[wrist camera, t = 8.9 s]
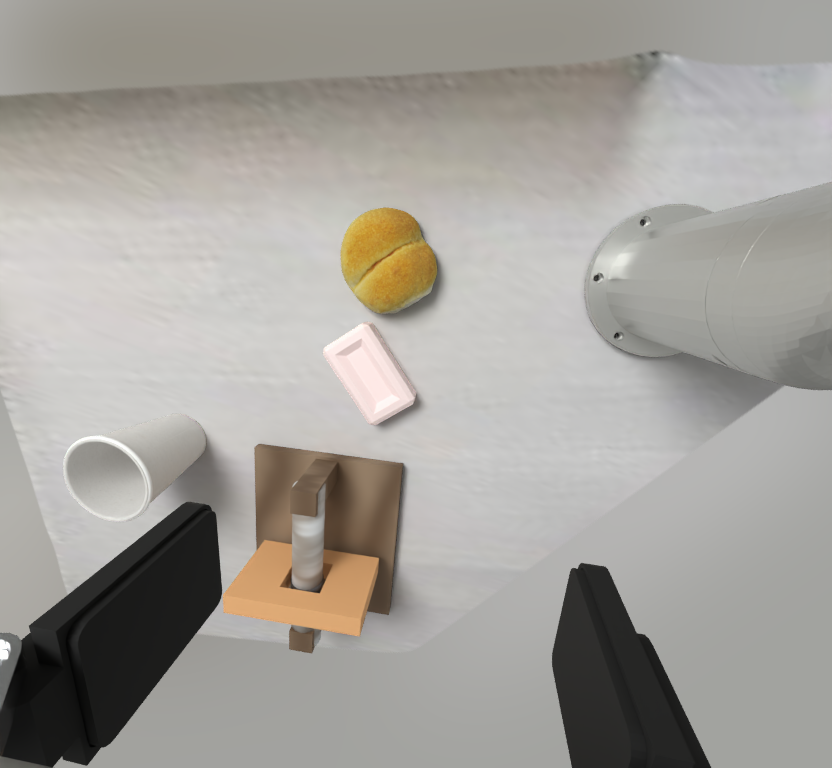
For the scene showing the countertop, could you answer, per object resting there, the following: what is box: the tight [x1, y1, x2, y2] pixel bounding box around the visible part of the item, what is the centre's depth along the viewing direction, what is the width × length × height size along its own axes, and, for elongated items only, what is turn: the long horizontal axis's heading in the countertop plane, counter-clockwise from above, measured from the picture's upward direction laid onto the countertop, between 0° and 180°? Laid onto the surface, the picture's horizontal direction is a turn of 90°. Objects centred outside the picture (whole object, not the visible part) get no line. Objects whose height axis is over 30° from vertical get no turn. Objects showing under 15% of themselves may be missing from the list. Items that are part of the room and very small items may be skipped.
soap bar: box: [323, 322, 416, 425], centre depth 39 cm, size 5×9×2 cm, turn 32°
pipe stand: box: [255, 444, 403, 653], centre depth 42 cm, size 16×19×8 cm
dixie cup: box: [63, 414, 206, 522], centre depth 39 cm, size 8×8×10 cm
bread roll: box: [341, 208, 437, 314], centre depth 35 cm, size 8×9×4 cm
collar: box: [223, 540, 379, 636], centre depth 40 cm, size 13×2×8 cm, turn 85°
